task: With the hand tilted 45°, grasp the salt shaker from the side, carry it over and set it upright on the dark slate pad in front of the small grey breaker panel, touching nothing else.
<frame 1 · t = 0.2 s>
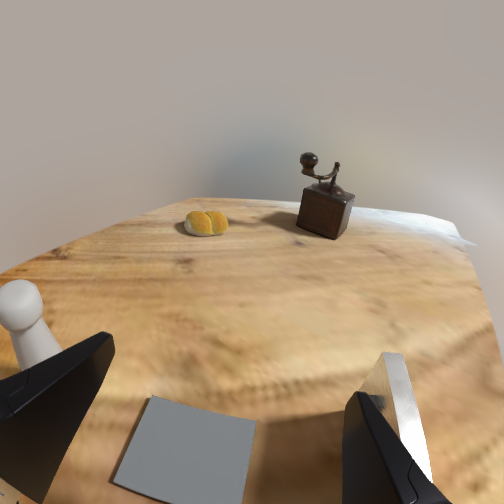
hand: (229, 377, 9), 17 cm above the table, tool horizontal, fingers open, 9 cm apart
manual coffee grinder: (317, 230, 68), on the table
bread roll: (205, 230, 60), on the table
breaker panel: (358, 477, 18), on the table
slate pad: (188, 456, 19), on the table
salt shaker: (61, 396, 21), on the table
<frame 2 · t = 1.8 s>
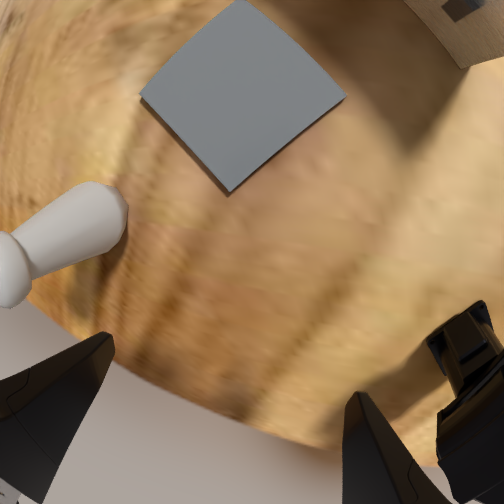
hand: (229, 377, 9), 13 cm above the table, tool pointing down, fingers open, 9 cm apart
slate pad: (236, 88, 17), on the table
salt shaker: (110, 208, 22), on the table
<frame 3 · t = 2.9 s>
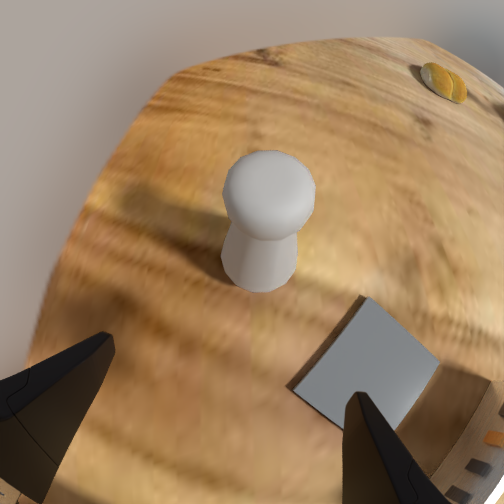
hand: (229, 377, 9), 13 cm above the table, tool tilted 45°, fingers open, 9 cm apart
bread roll: (440, 88, 36), on the table
breaker panel: (459, 447, 19), on the table
slate pad: (373, 377, 22), on the table
salt shaker: (258, 264, 25), on the table
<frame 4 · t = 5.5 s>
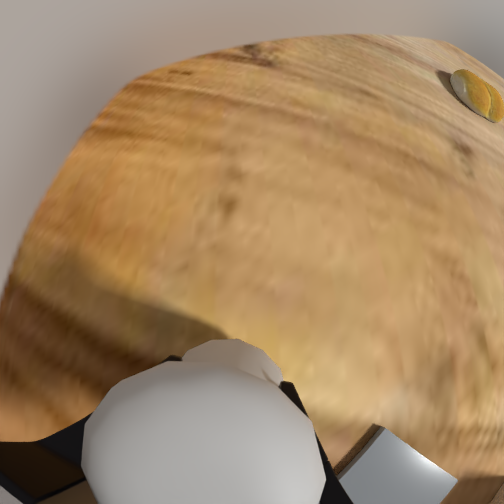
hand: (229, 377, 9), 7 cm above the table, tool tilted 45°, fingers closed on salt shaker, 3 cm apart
bread roll: (473, 102, 27), on the table
salt shaker: (228, 389, 15), on the table, touching gripper
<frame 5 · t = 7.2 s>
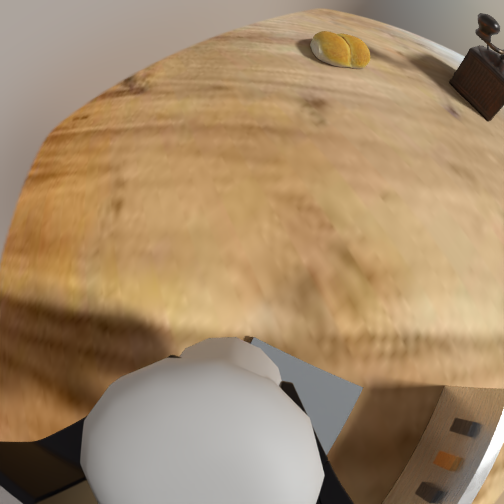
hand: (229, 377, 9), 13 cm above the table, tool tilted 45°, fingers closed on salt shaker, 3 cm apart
manual coffee grinder: (470, 98, 35), on the table
bread roll: (338, 57, 35), on the table
breaker panel: (416, 461, 19), on the table
slate pad: (280, 418, 20), on the table
salt shaker: (226, 388, 15), point 6 cm above the table, touching gripper
when the fingers open (8 cm above the table, at t = 8.8 s): salt shaker stays where it is, resting on slate pad.
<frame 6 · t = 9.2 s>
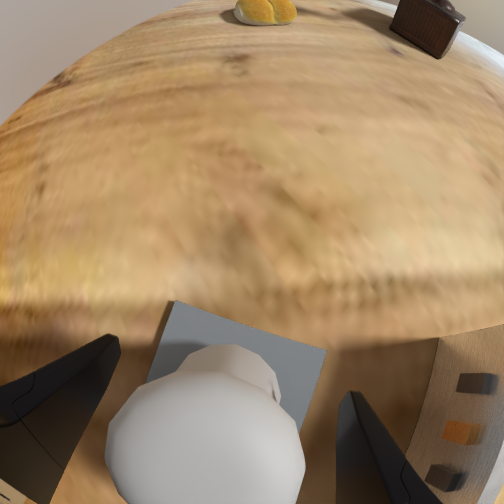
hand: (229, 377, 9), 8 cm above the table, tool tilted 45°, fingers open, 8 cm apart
manual coffee grinder: (415, 41, 34), on the table
bread roll: (263, 18, 32), on the table
breaker panel: (421, 439, 15), on the table
slate pad: (225, 400, 16), on the table
salt shaker: (227, 390, 16), resting on slate pad
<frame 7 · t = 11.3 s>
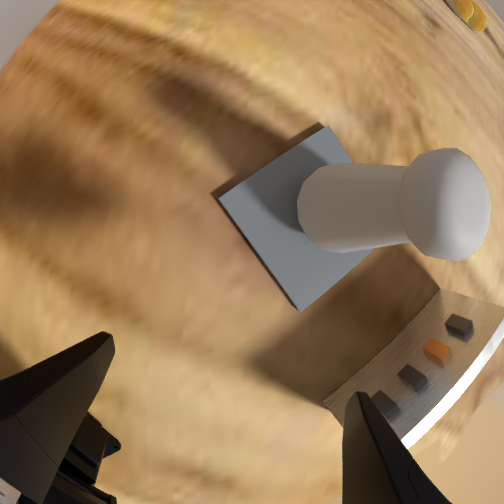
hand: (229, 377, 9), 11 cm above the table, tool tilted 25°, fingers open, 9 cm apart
bread roll: (459, 11, 24), on the table
breaker panel: (391, 350, 24), on the table
slate pad: (313, 216, 21), on the table
salt shaker: (322, 209, 21), resting on slate pad
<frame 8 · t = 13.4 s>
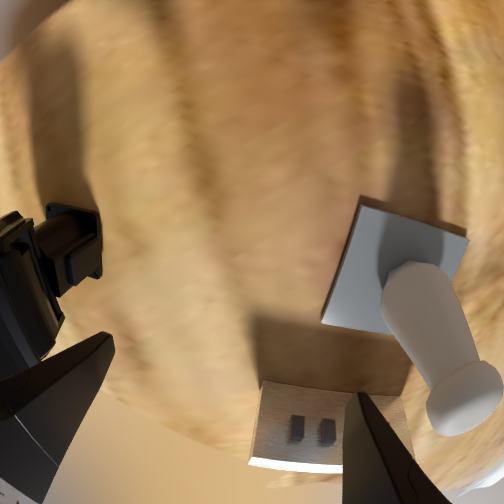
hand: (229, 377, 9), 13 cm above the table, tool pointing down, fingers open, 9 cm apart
breaker panel: (334, 396, 28), on the table
slate pad: (396, 279, 21), on the table
salt shaker: (406, 282, 21), resting on slate pad
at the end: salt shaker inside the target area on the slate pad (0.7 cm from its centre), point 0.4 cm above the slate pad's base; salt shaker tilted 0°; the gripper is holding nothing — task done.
